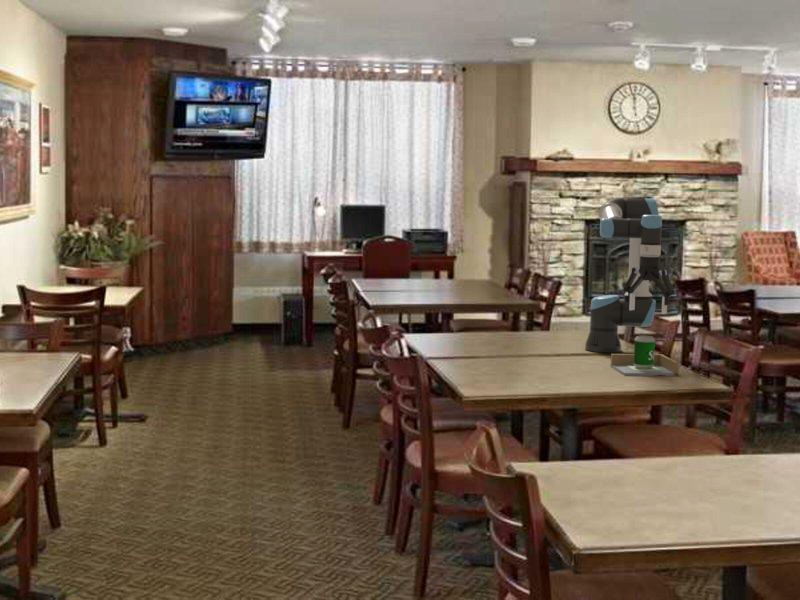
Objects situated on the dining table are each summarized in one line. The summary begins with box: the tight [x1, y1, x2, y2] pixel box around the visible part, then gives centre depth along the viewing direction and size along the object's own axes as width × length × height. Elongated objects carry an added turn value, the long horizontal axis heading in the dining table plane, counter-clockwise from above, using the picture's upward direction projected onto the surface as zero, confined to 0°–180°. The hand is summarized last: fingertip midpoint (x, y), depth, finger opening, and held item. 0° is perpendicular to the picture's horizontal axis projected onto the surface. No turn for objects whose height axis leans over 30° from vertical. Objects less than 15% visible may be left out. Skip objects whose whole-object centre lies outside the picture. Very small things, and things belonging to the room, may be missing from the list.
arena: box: [610, 353, 680, 377], centre depth 400 cm, size 20×20×5 cm
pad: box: [627, 366, 661, 371], centre depth 400 cm, size 10×10×1 cm
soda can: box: [633, 334, 656, 369], centre depth 399 cm, size 8×8×12 cm
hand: (647, 312), depth 402 cm, fingers open, 13 cm apart
